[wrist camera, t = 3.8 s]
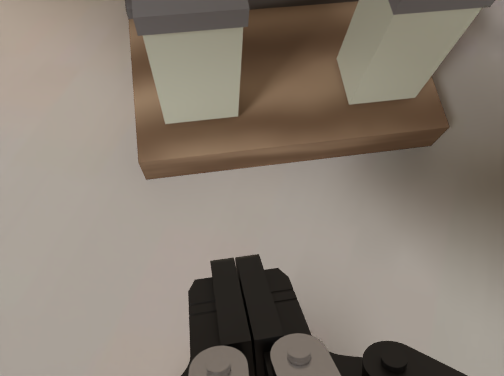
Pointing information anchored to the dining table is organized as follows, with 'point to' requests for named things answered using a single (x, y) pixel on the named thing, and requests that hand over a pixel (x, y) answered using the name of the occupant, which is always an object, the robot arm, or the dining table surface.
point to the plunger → (400, 45)
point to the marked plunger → (194, 55)
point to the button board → (281, 100)
